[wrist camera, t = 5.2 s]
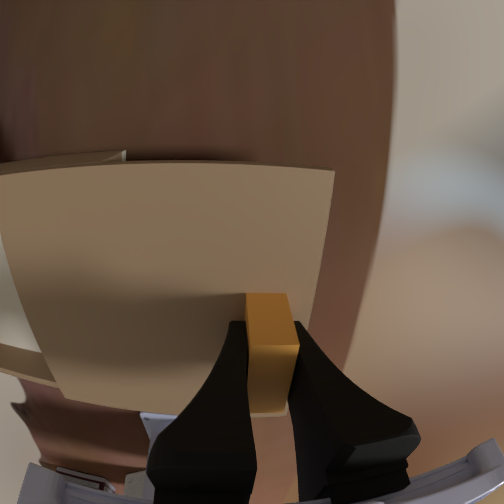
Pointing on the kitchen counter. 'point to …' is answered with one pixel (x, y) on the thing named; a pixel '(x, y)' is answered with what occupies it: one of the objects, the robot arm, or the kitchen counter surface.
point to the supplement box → (86, 480)
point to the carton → (6, 297)
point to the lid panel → (165, 273)
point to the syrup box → (134, 484)
